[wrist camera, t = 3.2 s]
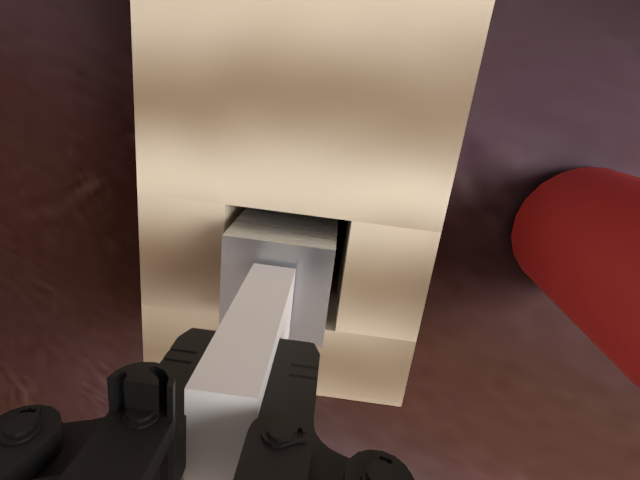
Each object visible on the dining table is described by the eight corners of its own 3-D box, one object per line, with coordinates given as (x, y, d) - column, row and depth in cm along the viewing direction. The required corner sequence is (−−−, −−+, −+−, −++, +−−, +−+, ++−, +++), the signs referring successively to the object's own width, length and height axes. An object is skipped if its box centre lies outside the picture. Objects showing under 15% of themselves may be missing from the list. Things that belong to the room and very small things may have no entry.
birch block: (196, -284, 16) (111, -494, 10) (507, -251, 16) (598, -447, 10) (190, 307, 25) (144, 370, 19) (388, 334, 24) (401, 406, 19)
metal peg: (257, 195, 20) (222, 235, 14) (339, 205, 20) (336, 250, 14) (252, 269, 21) (218, 333, 16) (329, 280, 21) (322, 347, 16)
